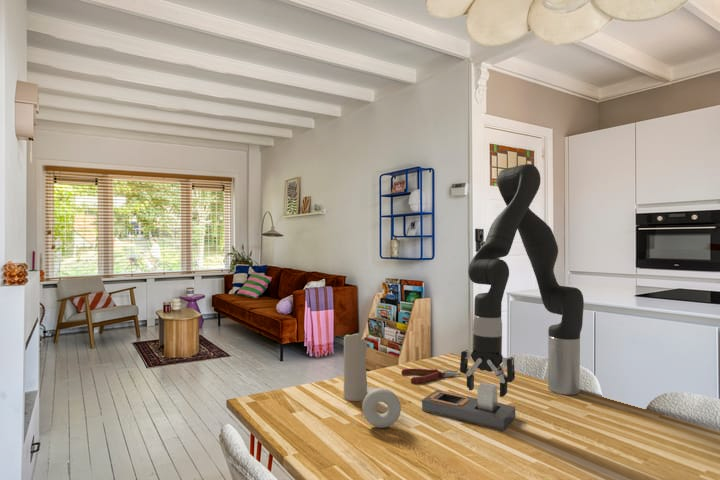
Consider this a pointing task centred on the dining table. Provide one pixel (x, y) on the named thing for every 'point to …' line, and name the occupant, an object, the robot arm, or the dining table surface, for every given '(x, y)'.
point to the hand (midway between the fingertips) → (486, 392)
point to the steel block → (487, 397)
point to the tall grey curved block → (355, 368)
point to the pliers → (428, 375)
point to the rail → (468, 410)
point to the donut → (373, 415)
